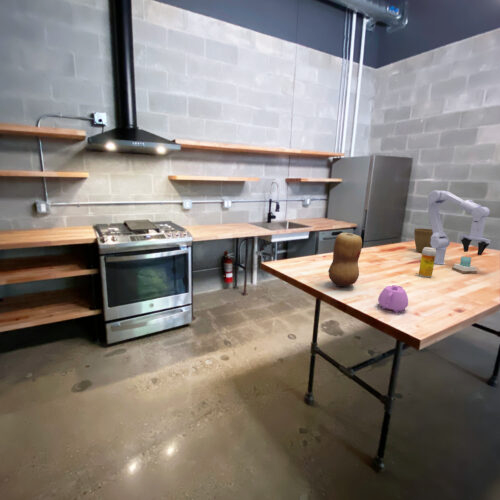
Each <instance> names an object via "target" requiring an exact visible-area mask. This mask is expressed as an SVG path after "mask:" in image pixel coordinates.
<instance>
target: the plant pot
mask: <svg viewBox="0 0 500 500" xmlns="http://www.w3.org/2000/svg"><path fill="white" fill-rule="evenodd" d="M413 231H414V232H413V233H414V242H415V243H414V245H415V249H416V252H417V253H419V254H422V251H423V249H424V247H430V248H432V246H431V244H430V242H431V236H432V235H433V231H432V228H414V230H413Z"/></svg>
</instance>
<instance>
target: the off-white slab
mask: <svg viewBox="0 0 500 500" xmlns="http://www.w3.org/2000/svg"><path fill="white" fill-rule="evenodd" d="M453 267H454V268H456V269H459V270H462V271H477V270H476V269H477V267H476V266H473V265H471V264H470V267H465V266H461V265H460V263H454V264H453Z"/></svg>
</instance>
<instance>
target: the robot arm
mask: <svg viewBox="0 0 500 500" xmlns="http://www.w3.org/2000/svg"><path fill="white" fill-rule="evenodd" d="M427 197H428V198H427V199H428V201H427V202H428V203H427V211H428V215H429V222H430V226H431V229H432V231H433V235H432V236H431V242H430V244H431V246H432V248H435V249H436V256H435V261H434V265H443V266H444V265H446V264H445V258H446V257H445V256H446V252H447V248H448V247H449V246H450V242H451V241H450V239H449V237H448V235H447V234H446V233H445V232H444V228H443V223H442V220H441V214H440V210H439V209H440V208H439V207H440V206H441V204H443V203H444V202H445V201H449V202H452V203H454V204H456V205H457V206H460V209H461V210H462V211H465V212H466V213H468V214H471V216H472V221H471V225H470V227H471V228H470V231H469V234H461V236H460V238H461V240H460V241H461V244H462V247H463V248H462V249H463V253H465V252H466V253H468V252H469V248H470V245H471V243H472V241H474V242H475V241H476V242H477V247H478V248H477V253H476V254H477V256H482V254H483V253H484V252H485V249H486V248H487V247H488V246H490V244H491V241H492V239H489V238H485V237H483V236H484V231H485V227H486V222H487V217H488V216H489V215H490V214H491V211H490V208H489V207H487V206H482V205H481V204H480V203H479V204H478V203H475V202H474V200H472V199H466V200H465V199H463V198H461V197H459V196H457V195H455V194H454V193H452V192H451V191H447V190H437V189H435V190H432V191H431V192H430V193H429V194H428V196H427Z"/></svg>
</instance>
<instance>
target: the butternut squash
mask: <svg viewBox="0 0 500 500" xmlns="http://www.w3.org/2000/svg"><path fill="white" fill-rule="evenodd" d="M362 240H363V239H362V237H361V236H360V235H357V234H354V233H350V232H340V233H339V234H338V235H336V238H335V240H334V244H333V245H334V246H333V251H332V252H333V254H332V261H331V263H330V266H329V268H328V271H327V272H328V277H329V280H330V281H331V282H332V283H333V284H334V286H336V287H342V288H343V287H345V288H346V287H349V286H352V285H354V284H355V283H357V281H358V279H359V276H360V269H359V259H360V256H361V252H362V249H363V241H362Z"/></svg>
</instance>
